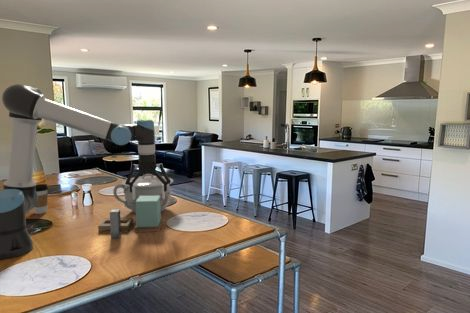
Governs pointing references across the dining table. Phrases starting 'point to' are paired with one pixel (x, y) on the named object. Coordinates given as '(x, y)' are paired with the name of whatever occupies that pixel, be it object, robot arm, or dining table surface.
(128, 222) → the build board
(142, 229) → the board
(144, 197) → the block
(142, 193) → the chamber pot
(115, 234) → the pin
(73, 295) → the dining table surface
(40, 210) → the coffee cup
